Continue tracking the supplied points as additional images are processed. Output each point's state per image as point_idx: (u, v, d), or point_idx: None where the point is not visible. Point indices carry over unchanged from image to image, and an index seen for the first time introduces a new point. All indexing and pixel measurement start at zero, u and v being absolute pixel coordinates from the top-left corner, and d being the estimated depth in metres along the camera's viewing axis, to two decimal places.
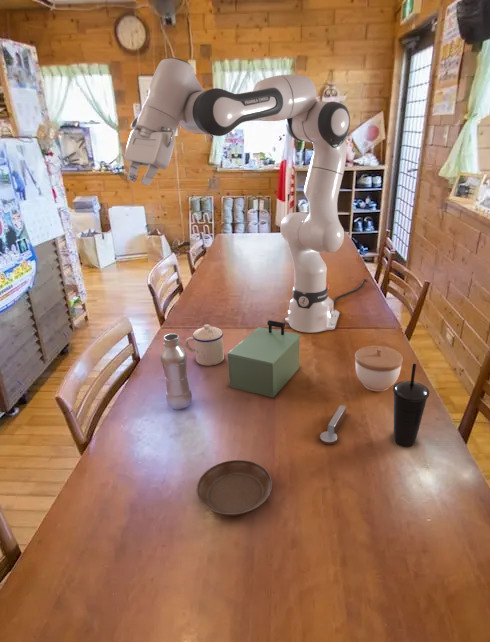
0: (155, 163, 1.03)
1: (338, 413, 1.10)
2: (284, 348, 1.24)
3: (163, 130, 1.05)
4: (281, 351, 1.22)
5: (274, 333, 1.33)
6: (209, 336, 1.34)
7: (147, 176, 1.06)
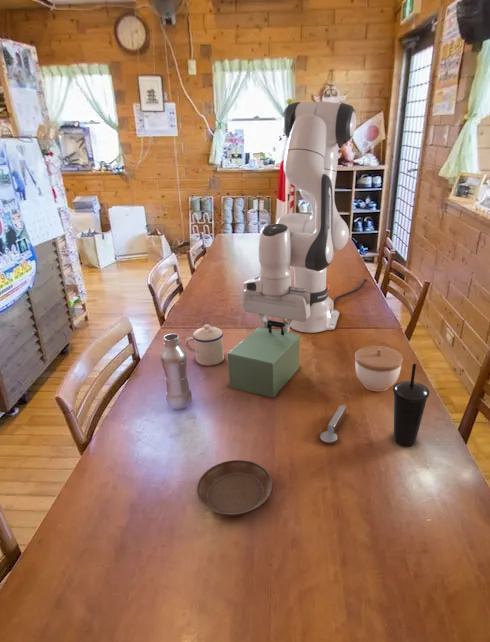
0: (305, 320, 1.25)
1: (338, 413, 1.10)
2: (284, 348, 1.24)
3: (293, 291, 1.24)
4: (281, 351, 1.22)
5: (274, 333, 1.33)
6: (209, 336, 1.34)
7: (288, 326, 1.29)
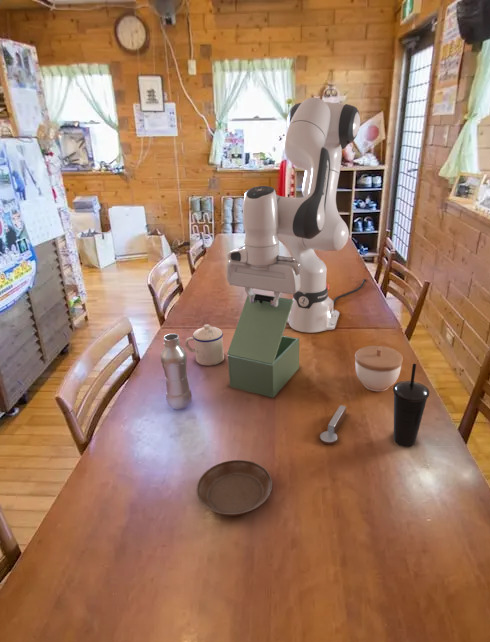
0: (294, 293, 1.15)
1: (338, 413, 1.10)
2: (279, 332, 1.19)
3: (281, 260, 1.13)
4: (277, 339, 1.19)
5: (265, 303, 1.24)
6: (209, 336, 1.34)
7: (276, 300, 1.19)
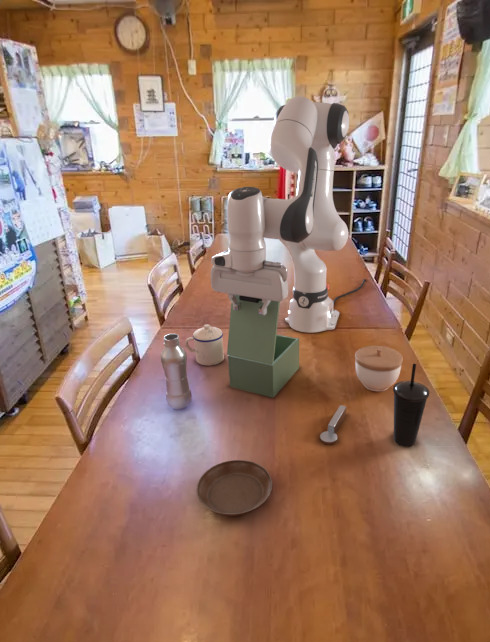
0: (281, 300, 1.08)
1: (338, 413, 1.10)
2: (273, 331, 1.15)
3: (268, 265, 1.07)
4: (272, 338, 1.16)
5: None
6: (209, 336, 1.34)
7: (265, 308, 1.12)
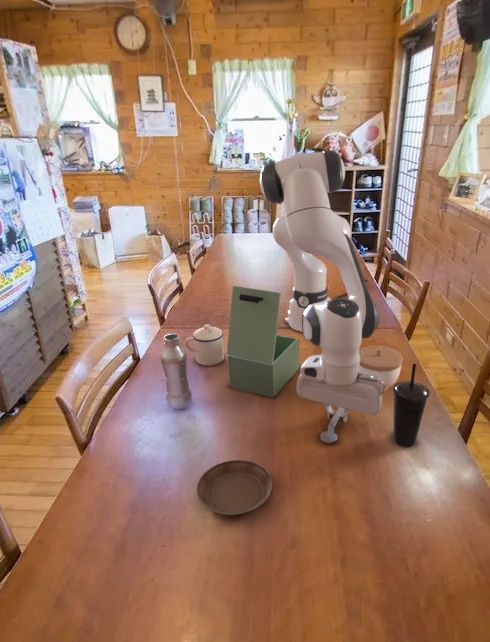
0: (376, 414, 1.03)
1: (338, 413, 1.10)
2: (273, 331, 1.15)
3: (363, 379, 1.01)
4: (272, 338, 1.16)
5: None
6: (209, 336, 1.34)
7: None
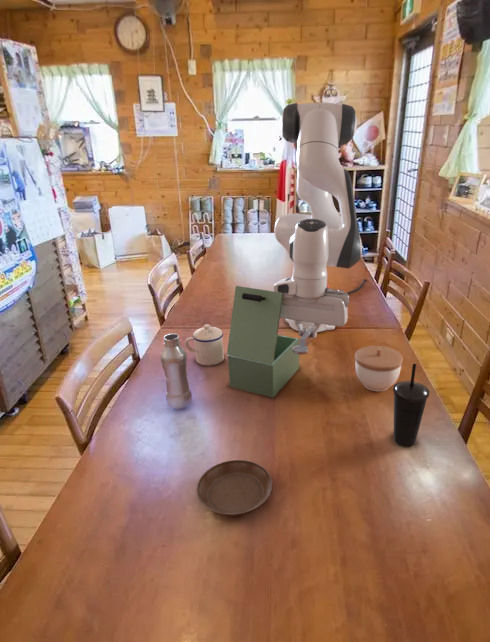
0: (343, 325, 1.14)
1: (308, 331, 1.20)
2: (274, 330, 1.16)
3: (330, 292, 1.13)
4: (273, 338, 1.16)
5: None
6: (209, 336, 1.34)
7: (316, 331, 1.18)
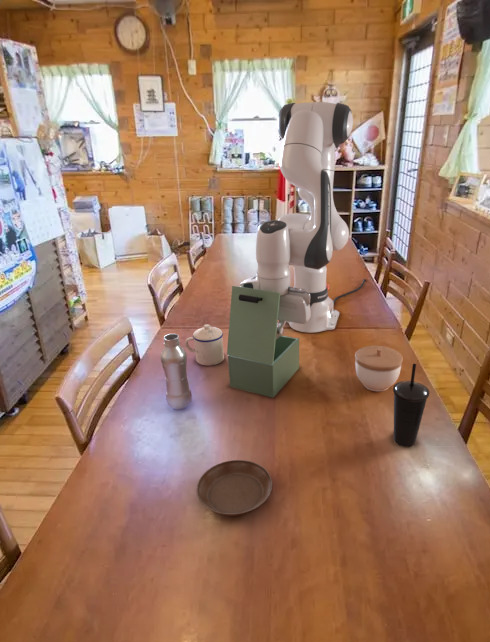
0: (305, 323, 1.19)
1: None
2: (273, 331, 1.15)
3: (293, 291, 1.17)
4: (272, 338, 1.15)
5: None
6: (209, 336, 1.34)
7: (281, 327, 1.23)
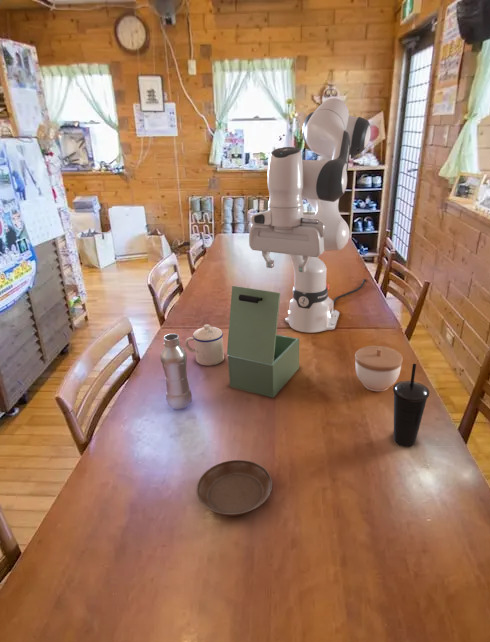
0: (318, 256, 1.14)
1: None
2: (273, 331, 1.15)
3: (306, 222, 1.13)
4: (272, 338, 1.15)
5: None
6: (209, 336, 1.34)
7: (304, 265, 1.18)
